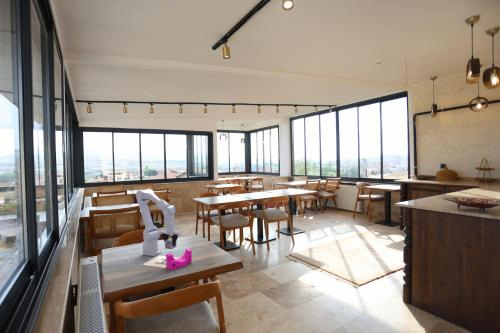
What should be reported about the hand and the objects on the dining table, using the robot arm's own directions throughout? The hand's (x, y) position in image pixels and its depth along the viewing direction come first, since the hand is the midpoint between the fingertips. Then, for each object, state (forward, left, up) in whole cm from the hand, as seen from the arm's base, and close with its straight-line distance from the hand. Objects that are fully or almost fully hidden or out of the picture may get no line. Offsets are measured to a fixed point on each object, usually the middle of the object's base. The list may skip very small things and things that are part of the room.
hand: (170, 245), depth 178 cm
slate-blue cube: (0, 0, -2) cm, 2 cm away
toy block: (+12, -8, -8) cm, 17 cm away
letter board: (-2, -6, -8) cm, 11 cm away
